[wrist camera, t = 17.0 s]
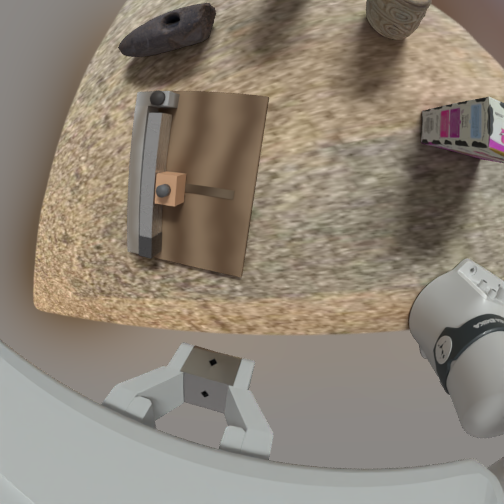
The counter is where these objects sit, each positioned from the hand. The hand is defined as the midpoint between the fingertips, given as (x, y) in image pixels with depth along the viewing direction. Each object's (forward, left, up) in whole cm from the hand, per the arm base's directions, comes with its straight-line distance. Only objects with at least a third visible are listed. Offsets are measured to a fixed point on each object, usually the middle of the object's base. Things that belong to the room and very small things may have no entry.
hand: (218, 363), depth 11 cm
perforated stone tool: (+19, -23, -29) cm, 42 cm away
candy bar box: (-22, -16, -29) cm, 40 cm away
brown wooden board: (+13, -2, -29) cm, 32 cm away
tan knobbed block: (+15, -1, -28) cm, 32 cm away
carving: (-10, -30, -29) cm, 43 cm away
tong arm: (+18, -1, -28) cm, 33 cm away
